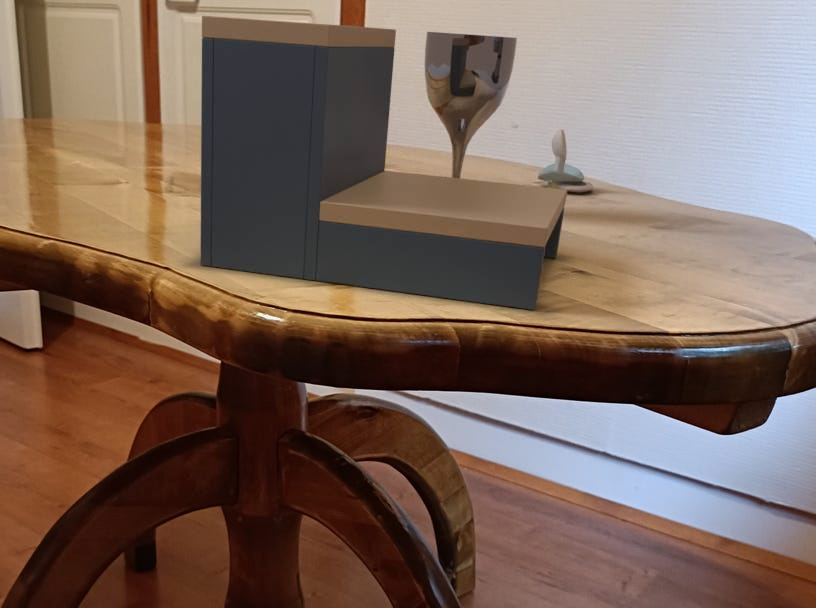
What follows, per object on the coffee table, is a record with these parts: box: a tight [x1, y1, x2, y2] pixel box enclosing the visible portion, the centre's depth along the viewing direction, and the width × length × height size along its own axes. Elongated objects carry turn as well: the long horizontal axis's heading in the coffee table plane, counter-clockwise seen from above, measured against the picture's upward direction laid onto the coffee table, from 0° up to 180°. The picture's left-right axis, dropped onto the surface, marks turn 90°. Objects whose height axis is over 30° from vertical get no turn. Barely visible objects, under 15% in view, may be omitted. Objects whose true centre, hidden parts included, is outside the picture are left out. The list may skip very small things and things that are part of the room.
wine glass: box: [423, 31, 518, 179], centre depth 87 cm, size 8×8×15 cm
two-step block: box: [200, 15, 568, 311], centre depth 65 cm, size 22×17×15 cm
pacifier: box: [537, 129, 594, 193], centre depth 105 cm, size 7×6×6 cm
